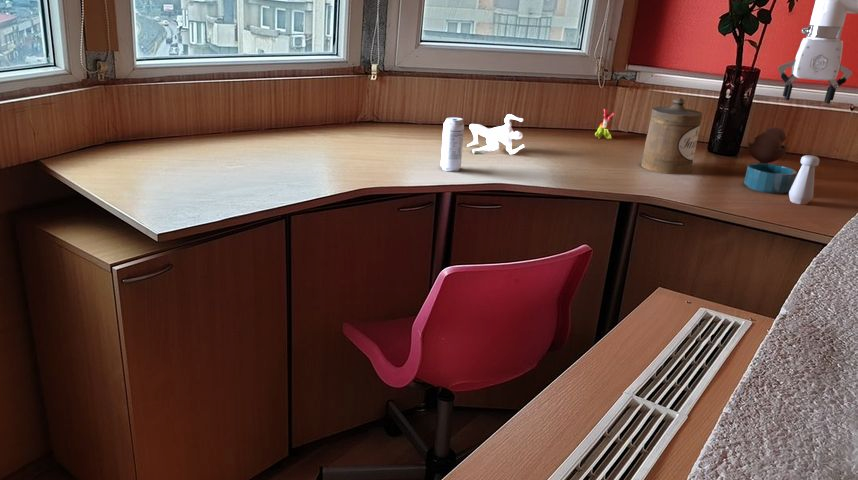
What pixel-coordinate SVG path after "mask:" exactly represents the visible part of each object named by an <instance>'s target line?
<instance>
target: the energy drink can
mask: <svg viewBox="0 0 858 480" xmlns="http://www.w3.org/2000/svg"><path fill="white" fill-rule="evenodd" d="M463 121H464V119H463V118H461V117H455V116H454V117H453V116H451V117H449V116H448V117H446V118H445V121H444V122H443V128H442V143H441V156H440V167H441V169H442V170H443V171H445V172H458V171H460V168H461V167H462V157H463V147H464V146H463V145H464V144H463V143H464V132H465V124H464V122H463Z"/></svg>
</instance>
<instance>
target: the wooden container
mask: <svg viewBox="0 0 858 480" xmlns="http://www.w3.org/2000/svg"><path fill="white" fill-rule="evenodd" d="M672 103H673V104H672V105H671V106H655V107H653V108H652V109H651V113H650V115H651V116H650V120H649V125H648V130H647V133H646V139H645V142H644V147H643V149H644V150H643V154H642V159H641V164H640V165H641V166H640V167H642V168H644V169H645V170H647V171H652V172H656V173H659V174H667V175H668V174H669V175H687V174H690V173H691V171H692V167H693V162H694V158H695V155H696V154H695V153H696V149H697V144H698V139H699V132H700V127H701V123H702V119H703V112H702V111H699V110H695V109H690V108H686V107H685V105H684V104H685V99H684V98H682V97H676V98H674V99H673V100H672Z"/></svg>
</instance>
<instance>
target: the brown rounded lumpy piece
mask: <svg viewBox="0 0 858 480" xmlns="http://www.w3.org/2000/svg"><path fill="white" fill-rule="evenodd" d="M786 139H787V135H786V132H785V130H784V129H783V128H781V127H777V126H773V127H770V128H767V130H765V131H764V132H762V133H760V134H758V135H757V136H755V137H754V139H753V140H751V141H749V142H748V143H747V150H748V152H749V154H750V156H751V157H752V158H753V159H755V160H756V161H758V163H764V164H771V163H774V162H776V161H778V160H779V159H781V158H782V157H783V156H784V155H785V154H786V153H787V150H788V148H789V146H786V145H784V144H783V143H784V142H785V141H786Z"/></svg>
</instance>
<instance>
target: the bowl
mask: <svg viewBox="0 0 858 480" xmlns="http://www.w3.org/2000/svg"><path fill="white" fill-rule="evenodd" d="M797 174H798V173H797V170H795V169H793V168H790V167H787V166H784V165H780V164H779V165H778V164H772V163H768V164H764V163H760V162H758V163H757V162H755V163H749V164H748V165H747V168H746V173H745V177H744V181H743V184H744V185H745V186H746V187H747V188H749V189H750V190H754V191H757V192H760V193H767V194H774V195H781V194H788V193H789V191H790V189H791V187H792V185H793V183H794V181H795V179H796V177H797Z"/></svg>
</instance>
